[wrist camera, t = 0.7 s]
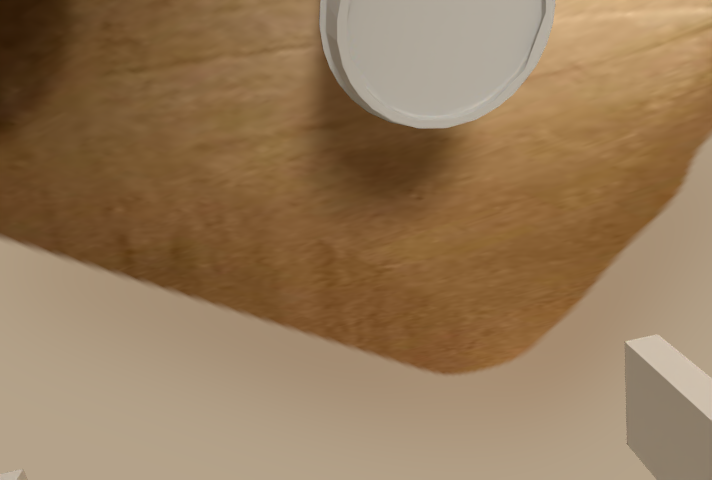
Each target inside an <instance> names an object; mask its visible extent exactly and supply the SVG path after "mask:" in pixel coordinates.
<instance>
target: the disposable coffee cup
mask: <svg viewBox="0 0 712 480" xmlns="http://www.w3.org/2000/svg"><path fill="white" fill-rule="evenodd" d="M554 10H555V0H321V1H320V15H319V26H320V33H321V39H322V46H323V50H324V53H325V56H326V59H327V62H328V64H329V67H330V69H331V71H332V73H333V74H334V76H335V78H336V80H337V82H338V83H339V85H340V86H341V87H342V88H343V90H344V91H345V92H346V93H347V94H348V95H349V97H350V98H351V99H352V100H353V101H355V102H356V103H357V104H358V105H360V106H361V107H362V108H363V109H365V110H366V111H367V112H369V113H371V114H373V115H375V116H378V117H380V118H382V119H384V120H386V121H388V122H391V123H396V124H401V125H405V126H411V127H415V128H449V127H452V126H456V125H459V124H463V123H466V122H470V121H473V120H476V119H478V118H480V117H481V116H483V115H485V114H487V113H488V112H490V111H492V110H494V109H495V108H497V107H498V106H500V105H501V104H502V103H503V102H504V101H506V100H507V99H508V98H509V97H511V96H512V95H513V94H514V93H515V92H516V91H517V89H518V88H519V87H520V86H521V85H522V84H523V82H524V81H525V80H526V79H527V77H528V76H529V75H530V73H531V72H532V71H533V69H534V68H535V67H536V65H537V63H538V61H539V59H540V57H541V55H542V53H543V51H544V49H545V47H546V45H547V41H548V38H549V35H550V31H551V28H552V24H553V18H554Z"/></svg>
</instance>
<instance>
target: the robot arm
mask: <svg viewBox="0 0 712 480" xmlns="http://www.w3.org/2000/svg"><path fill="white" fill-rule="evenodd" d="M625 380H626V381H625V382H626V422H627V423H626V424H627V445H628V446H629V447H630V448H631V449H632V451H633V452H634V453H635V454H636V455H637V457H638V458H639V459H640V460H641V461H642V463H643V464H644V465H645V466H646V467H647V469H648V470H649V471H650V472H651V473H652V475H653V476H654V477H655V478H656V479H657V480H712V378H711V377H709V376H708V375H707V374H706V373H704V372H703V371H702V370H701V369H699V368H698V367H697V366H696V365H695V364H693V363H692V362H691V361H690V360H689V359H687V358H686V357H685V356H684V355H682V354H681V353H680V352H679V351H677V350H676V349H675V348H674V347H672V346H671V345H670V344H669V343H668V342H666V341H665V340H664V339H663V338H661V337H660V336H659V335H653V336H649V337H644V338H639V339H634V340H629V341H625ZM0 480H27V477H26V475H25V473H24V470H23V469H21V470H16V471H11V472H7V473H2V474H0Z"/></svg>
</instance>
